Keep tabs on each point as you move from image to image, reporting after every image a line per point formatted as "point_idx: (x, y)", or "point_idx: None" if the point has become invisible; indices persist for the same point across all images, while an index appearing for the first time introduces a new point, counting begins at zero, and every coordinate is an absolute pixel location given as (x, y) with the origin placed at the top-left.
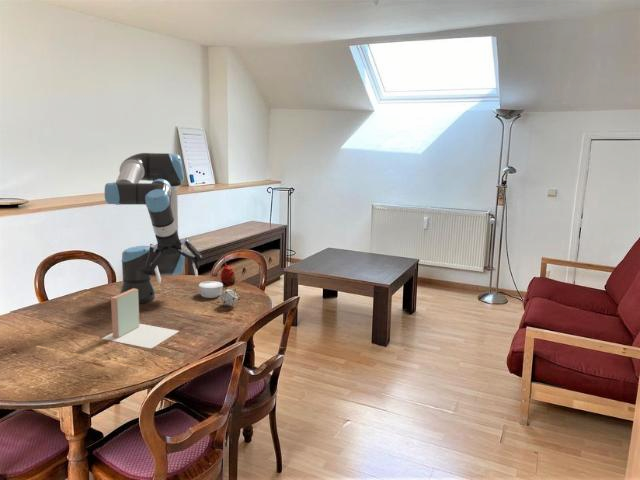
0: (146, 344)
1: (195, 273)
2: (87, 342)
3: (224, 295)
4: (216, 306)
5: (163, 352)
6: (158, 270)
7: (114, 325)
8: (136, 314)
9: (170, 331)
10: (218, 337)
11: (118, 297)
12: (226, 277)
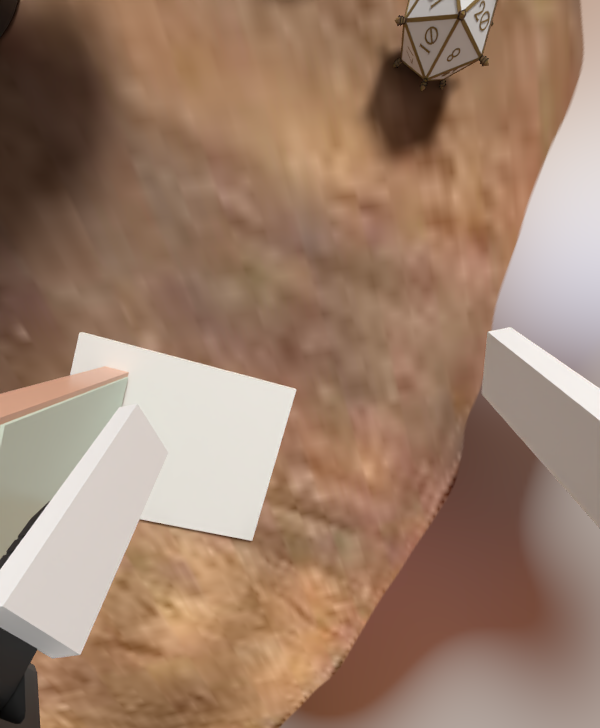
0: (225, 516)
1: (518, 426)
2: None
3: (438, 36)
4: (368, 71)
5: (295, 544)
6: (77, 513)
7: None
8: (96, 404)
9: (265, 400)
10: (435, 409)
11: None
12: None
